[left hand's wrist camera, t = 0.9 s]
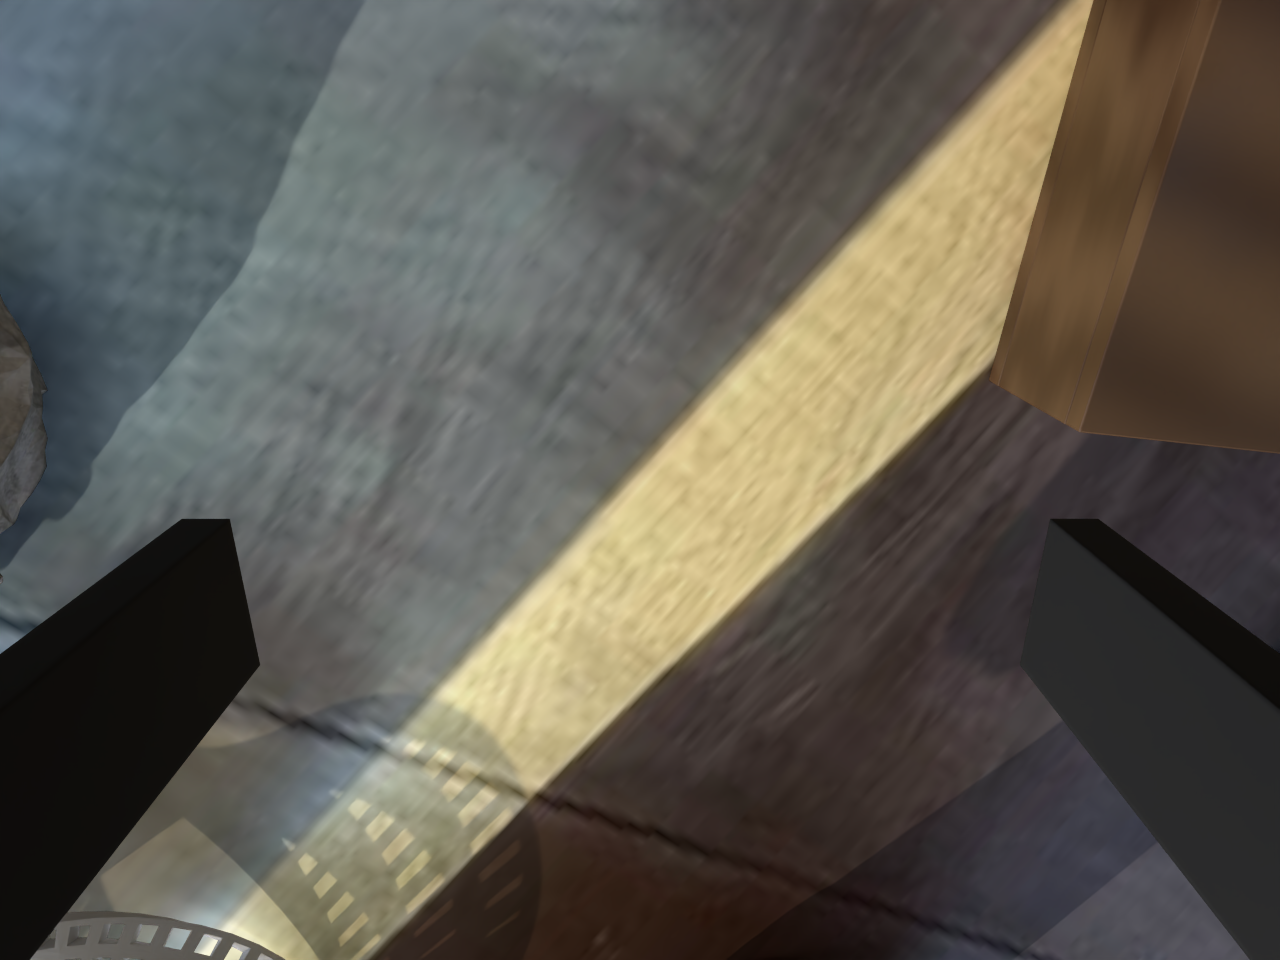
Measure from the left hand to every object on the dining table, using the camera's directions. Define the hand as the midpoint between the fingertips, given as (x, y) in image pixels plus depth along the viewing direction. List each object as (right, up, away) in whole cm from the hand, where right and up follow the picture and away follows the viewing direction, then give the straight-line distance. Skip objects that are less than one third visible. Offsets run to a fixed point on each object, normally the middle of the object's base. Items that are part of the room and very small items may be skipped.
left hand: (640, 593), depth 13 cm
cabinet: (+23, +14, +22) cm, 35 cm away
